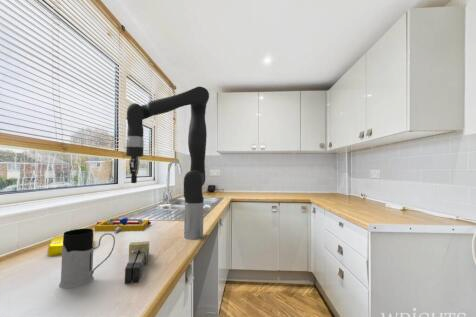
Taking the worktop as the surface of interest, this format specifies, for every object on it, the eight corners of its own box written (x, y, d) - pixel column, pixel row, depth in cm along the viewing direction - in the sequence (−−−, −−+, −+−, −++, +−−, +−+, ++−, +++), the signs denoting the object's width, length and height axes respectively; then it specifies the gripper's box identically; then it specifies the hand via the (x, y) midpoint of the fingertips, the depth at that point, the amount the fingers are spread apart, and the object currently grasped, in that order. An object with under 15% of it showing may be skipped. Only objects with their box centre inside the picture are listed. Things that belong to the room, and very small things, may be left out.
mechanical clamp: (99, 215, 140) (151, 215, 143) (98, 225, 139) (151, 225, 142) (81, 222, 122) (142, 222, 124) (81, 234, 121) (142, 234, 124)
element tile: (93, 241, 111) (93, 231, 111) (93, 251, 98) (93, 239, 98) (53, 246, 103) (53, 235, 104) (46, 257, 90) (47, 245, 91)
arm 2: (142, 258, 90) (142, 246, 90) (147, 257, 91) (147, 245, 91) (132, 283, 71) (132, 267, 71) (138, 282, 71) (139, 267, 71)
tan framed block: (130, 262, 86) (130, 242, 86) (148, 260, 87) (149, 241, 88) (128, 265, 83) (129, 245, 83) (148, 264, 84) (148, 243, 85)
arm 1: (134, 258, 90) (134, 246, 90) (139, 258, 90) (140, 246, 90) (124, 284, 70) (125, 268, 70) (131, 283, 71) (131, 267, 71)
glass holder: (63, 278, 74) (65, 229, 74) (114, 270, 79) (116, 225, 80) (54, 292, 66) (57, 237, 66) (112, 282, 71) (114, 232, 72)
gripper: (129, 147, 119) (127, 182, 118) (123, 144, 106) (122, 184, 105) (145, 147, 120) (144, 182, 120) (141, 145, 108) (140, 184, 107)
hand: (133, 182), depth 112 cm, fingers closed
